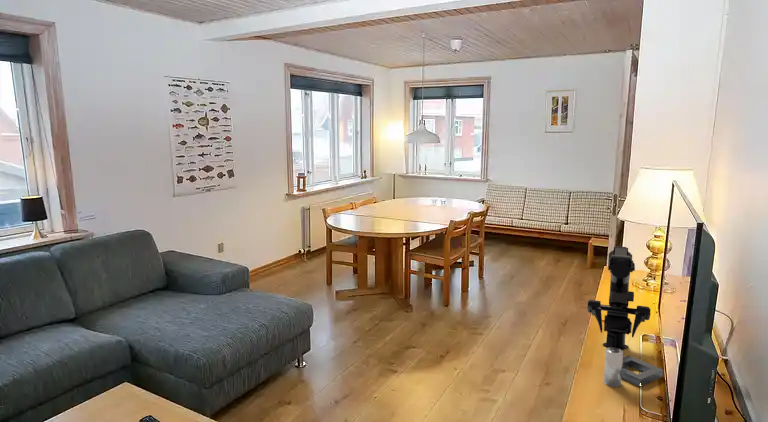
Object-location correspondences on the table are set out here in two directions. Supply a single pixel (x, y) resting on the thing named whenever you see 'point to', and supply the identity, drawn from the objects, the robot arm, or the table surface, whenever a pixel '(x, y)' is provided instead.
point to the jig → (647, 374)
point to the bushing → (613, 367)
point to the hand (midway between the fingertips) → (616, 334)
